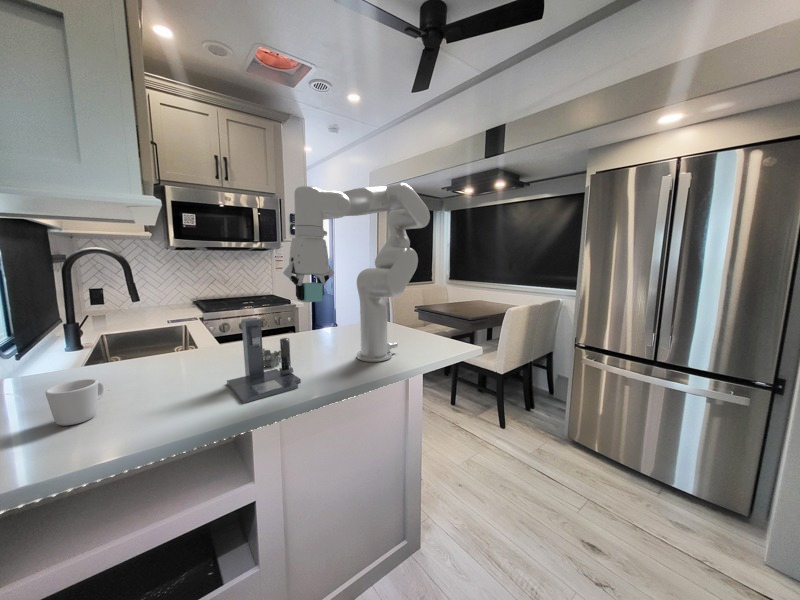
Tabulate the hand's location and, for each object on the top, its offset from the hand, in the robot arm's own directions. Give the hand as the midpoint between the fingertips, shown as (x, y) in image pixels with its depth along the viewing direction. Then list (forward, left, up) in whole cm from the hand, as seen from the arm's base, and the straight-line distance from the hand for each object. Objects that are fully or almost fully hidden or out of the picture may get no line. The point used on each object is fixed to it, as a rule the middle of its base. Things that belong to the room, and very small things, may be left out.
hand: (310, 298), depth 89 cm
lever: (+5, -8, -23) cm, 24 cm away
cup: (+49, -14, -24) cm, 56 cm away
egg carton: (+4, -24, -25) cm, 34 cm away
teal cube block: (0, 0, -1) cm, 1 cm away
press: (+12, -5, -24) cm, 27 cm away
